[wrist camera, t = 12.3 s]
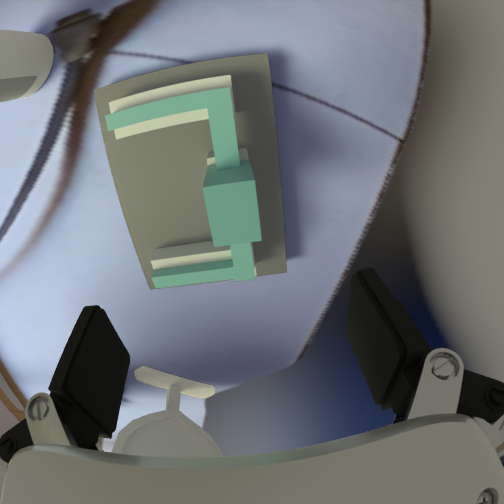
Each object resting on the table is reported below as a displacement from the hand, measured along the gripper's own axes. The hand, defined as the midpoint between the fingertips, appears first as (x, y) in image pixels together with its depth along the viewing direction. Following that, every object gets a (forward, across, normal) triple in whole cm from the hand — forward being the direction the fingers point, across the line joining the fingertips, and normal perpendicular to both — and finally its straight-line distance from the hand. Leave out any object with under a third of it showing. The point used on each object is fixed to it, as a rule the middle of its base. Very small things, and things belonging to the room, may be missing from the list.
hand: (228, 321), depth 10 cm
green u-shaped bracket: (+13, +3, 0) cm, 14 cm away
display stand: (+17, +2, -1) cm, 17 cm away
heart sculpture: (+18, +13, +30) cm, 38 cm away
